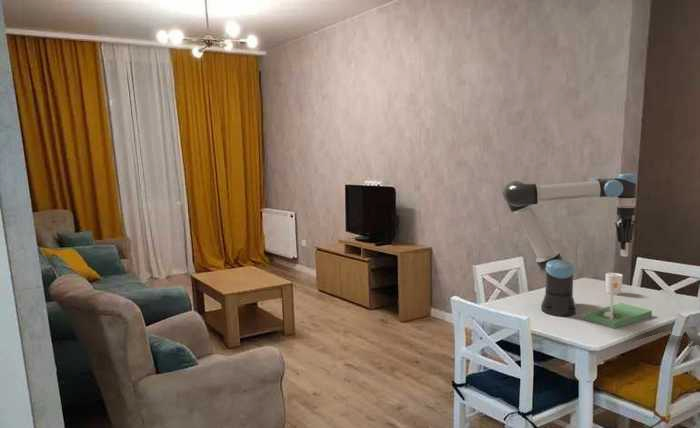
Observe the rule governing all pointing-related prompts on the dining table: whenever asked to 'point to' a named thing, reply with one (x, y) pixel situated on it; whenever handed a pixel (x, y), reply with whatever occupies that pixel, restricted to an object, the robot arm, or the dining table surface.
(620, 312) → the mat
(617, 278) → the white cup
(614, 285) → the flag pin
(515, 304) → the dining table surface
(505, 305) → the dining table surface
